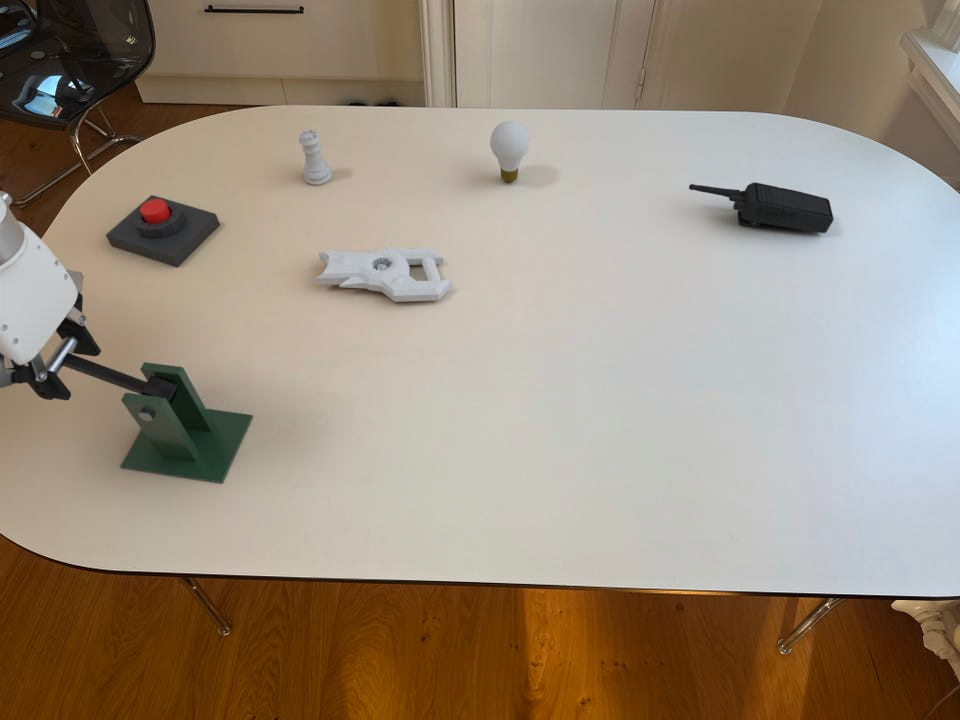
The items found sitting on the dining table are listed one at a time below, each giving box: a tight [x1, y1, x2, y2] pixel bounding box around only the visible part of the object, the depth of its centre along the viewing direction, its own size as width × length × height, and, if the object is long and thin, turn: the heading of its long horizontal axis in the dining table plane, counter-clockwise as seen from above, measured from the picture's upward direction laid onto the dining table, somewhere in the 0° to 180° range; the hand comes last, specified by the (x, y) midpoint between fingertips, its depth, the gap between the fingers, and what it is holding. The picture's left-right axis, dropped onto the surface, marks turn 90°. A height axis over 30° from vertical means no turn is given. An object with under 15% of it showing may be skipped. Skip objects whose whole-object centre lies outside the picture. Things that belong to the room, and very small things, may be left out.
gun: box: [315, 246, 453, 303], centre depth 96 cm, size 18×3×10 cm
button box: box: [105, 194, 221, 268], centre depth 103 cm, size 12×10×4 cm
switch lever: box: [44, 334, 178, 406], centre depth 72 cm, size 12×5×2 cm, turn 80°
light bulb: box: [489, 120, 530, 183], centre depth 107 cm, size 6×6×10 cm
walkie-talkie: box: [688, 182, 835, 234], centre depth 101 cm, size 6×6×20 cm
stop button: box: [140, 199, 170, 224], centre depth 101 cm, size 4×4×2 cm
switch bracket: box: [120, 361, 254, 484], centre depth 76 cm, size 12×9×12 cm
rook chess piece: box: [298, 128, 333, 186], centre depth 109 cm, size 4×4×8 cm
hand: (71, 372), depth 73 cm, fingers open, 5 cm apart
